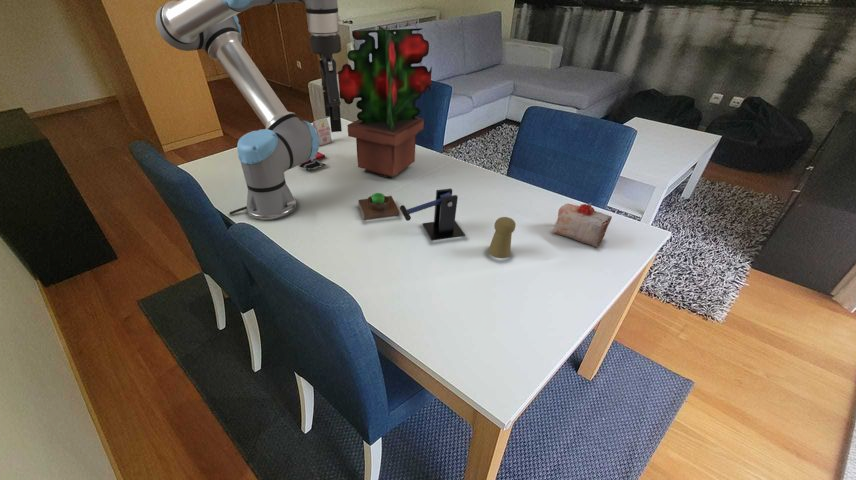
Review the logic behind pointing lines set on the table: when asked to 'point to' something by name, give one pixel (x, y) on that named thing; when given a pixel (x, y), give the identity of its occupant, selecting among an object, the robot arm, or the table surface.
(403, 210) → the lever
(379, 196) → the green button
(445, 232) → the lever bracket
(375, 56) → the potted plant
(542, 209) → the table surface
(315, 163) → the red board with handle
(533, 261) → the table surface
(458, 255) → the table surface
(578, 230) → the food item
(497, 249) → the tan pawn
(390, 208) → the switch block
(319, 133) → the white cardboard box
